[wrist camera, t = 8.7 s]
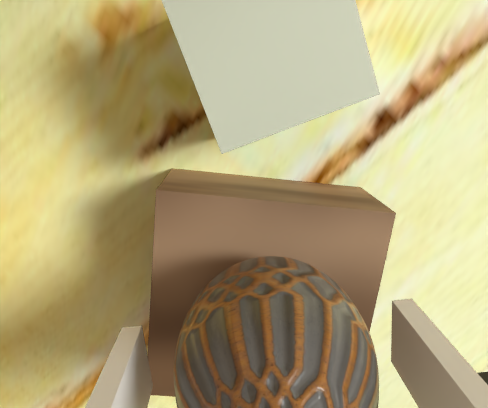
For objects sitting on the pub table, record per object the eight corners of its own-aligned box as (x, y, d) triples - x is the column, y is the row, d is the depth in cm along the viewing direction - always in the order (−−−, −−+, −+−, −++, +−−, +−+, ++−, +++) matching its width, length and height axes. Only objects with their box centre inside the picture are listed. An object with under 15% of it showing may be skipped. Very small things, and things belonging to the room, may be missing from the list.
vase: (237, 393, 19) (227, 642, 10) (161, 277, 17) (75, 458, 9) (372, 335, 18) (483, 557, 9) (305, 205, 16) (365, 331, 8)
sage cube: (177, 15, 18) (153, -20, 13) (298, -35, 18) (330, -93, 12) (224, 135, 20) (221, 153, 14) (335, 93, 20) (379, 94, 14)
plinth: (173, 167, 21) (156, 189, 16) (358, 185, 21) (396, 213, 17) (162, 332, 23) (145, 394, 19) (327, 344, 24) (352, 407, 19)
